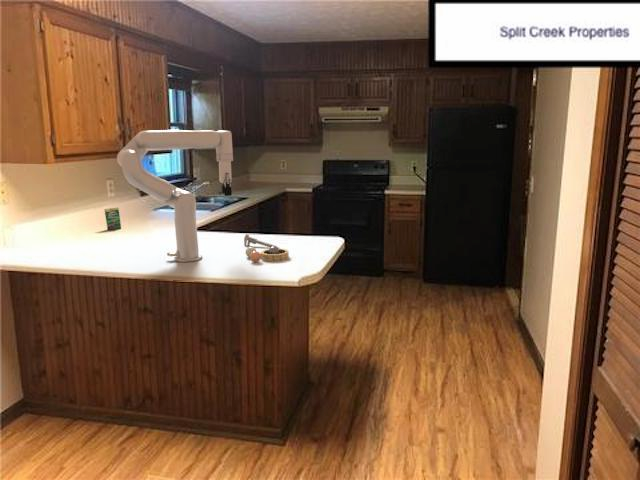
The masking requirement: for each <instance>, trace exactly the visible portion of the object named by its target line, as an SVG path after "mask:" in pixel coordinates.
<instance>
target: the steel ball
mask: <svg viewBox="0 0 640 480" xmlns="http://www.w3.org/2000/svg"><path fill="white" fill-rule="evenodd" d="M277 247H278V246H277ZM277 247H274V246H273V247H271V248H270V247H269V248H268V249H269V251H268V253H269V254H279V249H280V248H279V247H278V248H279V249H278V248H277Z"/></svg>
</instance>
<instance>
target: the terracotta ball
mask: <svg viewBox="0 0 640 480" xmlns="http://www.w3.org/2000/svg"><path fill="white" fill-rule="evenodd" d="M249 260H250V261H251V262H253V263H259V261H261V260H262V259H261V252H260V251H257V250H256V251H253V252H252V253H251V254H250V257H249Z"/></svg>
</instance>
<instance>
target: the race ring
mask: <svg viewBox="0 0 640 480" xmlns="http://www.w3.org/2000/svg"><path fill="white" fill-rule="evenodd" d="M269 249H270V248H268V249H264V250H261V251H260V254H261V259H260V260H261V261H264V262H273V263H274V262H283V261H286V260H288V259H289V257H290V254H289V250H288V249H285V248H279V254H269V253H268V251H269Z"/></svg>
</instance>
